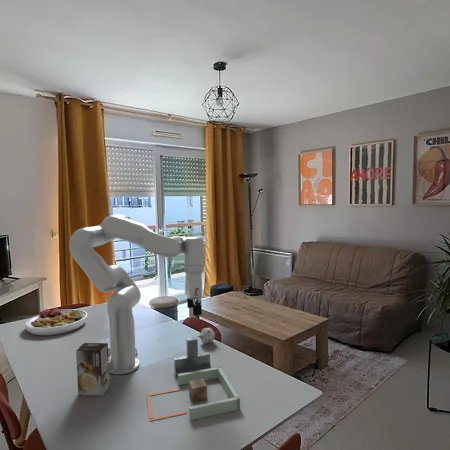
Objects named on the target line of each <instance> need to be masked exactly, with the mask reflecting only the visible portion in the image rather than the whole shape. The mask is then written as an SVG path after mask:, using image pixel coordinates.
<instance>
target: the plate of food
mask: <svg viewBox="0 0 450 450" xmlns="http://www.w3.org/2000/svg"><path fill="white" fill-rule="evenodd" d="M87 319H88V313H87V311H85V310H82V309H71V308H70V309H69V308H68V309H67V308H66V309H59V308H54V309H52V310H51V309H49V308H45V309H43V310H41V311H40V313H39V314H37V315H35V316H32V317H31V318H28V319H27V321H25V329H26V331H28V333H30V334H32V335H35V336H55V335H60V334H65V333H68V332H72V331H74V330H77V329H79V328H80V327H82V326H83V325H84V324H85V323H86V321H87Z"/></svg>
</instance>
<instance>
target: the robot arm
mask: <svg viewBox="0 0 450 450" xmlns="http://www.w3.org/2000/svg"><path fill="white" fill-rule="evenodd" d="M115 239H119V240H122V241H124V242H128V243H130V244H133V245H136V246H138V247H139V248H142V249H144V250H145V251H147V252H150V253H152V254H155V255H158V256H161V257H164V258H170V259H173V258H176V257H178V256H179V255H181V254H182V255H183V256H184V258H183V260H184V262H183V263H184V267H183V268H184V273H185V278H184V279H185V281H184V282H185V283H184V285H185V286H184V294H185V296H186V298H187V301H186V302H187V308H188V309H191V308H192V316H194V317H197V316H201V315H202V298H203V277H202V274H203V273H204V269H205V268H204V265H205V263H204V262H205V260H204V247H205V245H204V238H202V236H201V237H200V236H180V235H174V236H170V237H169V236H165V235H163V234H159V233H157V232H155V231H152V230H151V229H150V228H149V227H148V226H147V225H146V224H144V223H141V222H138V221H134V220H131V219H130V218H129V217H128V216H127V215H124V214H111V215H108V216H106V217H105V218H104V219H103V220H102V222H101V223H100V224H98V225H94V226H85V227H81V228H79V229H77V230H75V231H74V232H73V233H72V234H71V236H70V239H69V243H68V250H69V252H70V256H71V257H72V258H73V260H74V261H75V262H76V263H77V264H78V266H79V267H80V268H81V269H82V271H83V273H84V274H85V275H86V277H88V279H89V280H90V281H91V282H90V283H92V285H93V286H94V288H96V289H97V291H99V292H100V293H109V292H111V291H112V292H113V293H112V294H111V295H110V296H109V297H108V300H107V302H106V309H107V310H106V311H107V314H108V321H109V343H110V344H109V345H110V354H109V356H108V362H109V374H112V375H125V374H126V375H127V374H128V373H132V372H135V371H136V370H137V369H138V368H139V366H140V360H139V359H138V358H137V357H136V333H135V329H136V328H135V318H134V314H133V308H135V306H137V305H138V303H140V301H141V298H142V294H141V291H140V289H139V287H138V285H136V283H135V282H134V280H133V279H132V277H131V276H130V275H129V274H128V272H127V271H126V270H125V269H124V268H123V267H122V266H121V265H117V264H110V265H108V263H107V262H106V261H105V260H104V258H103V257H102V256H101V255H100V254H99V253H98V252H96V251H95V249H94V248H96V247H100V246H103V245H106V244H107V243H109V242H111V241H113V240H115Z"/></svg>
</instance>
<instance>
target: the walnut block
mask: <svg viewBox="0 0 450 450" xmlns="http://www.w3.org/2000/svg"><path fill="white" fill-rule="evenodd" d="M188 390H189V391H188V393H189V395H188V396H189V398H190V400H191V403H192V404H194V403H199V402H205V401H208V385H207V383H206V380H204V379H203V378H202V379H197V380H191V381H189V383H188Z"/></svg>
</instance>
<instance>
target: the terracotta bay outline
mask: <svg viewBox="0 0 450 450" xmlns="http://www.w3.org/2000/svg"><path fill="white" fill-rule="evenodd" d="M174 392H180V388H173V389H168V390H167V389H166V390H162V391H156V392H152V393H147V394H146V402H147V408H148V409H147V410H148V418H149V422H153V421H158V420H162V419H168V418H173V417H177V416H181V415H186V414H187V411H186V410H182V411H177V412H172V413H169V414H163V415H159V416H154V412H153V405H152V396H158V395H164V394H168V393H169V394H170V393H174Z"/></svg>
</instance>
